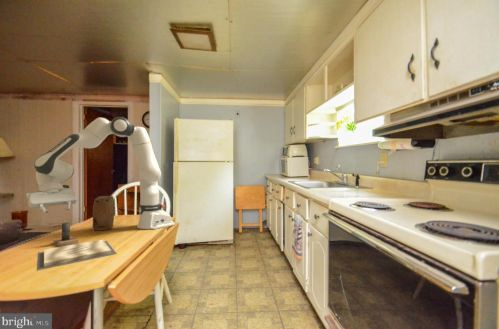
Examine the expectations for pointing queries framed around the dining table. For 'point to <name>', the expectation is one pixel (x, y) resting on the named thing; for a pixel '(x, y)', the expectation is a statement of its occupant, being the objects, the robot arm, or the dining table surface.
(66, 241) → the sanding block
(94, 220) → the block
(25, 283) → the dining table surface
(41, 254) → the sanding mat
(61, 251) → the board
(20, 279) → the dining table surface
